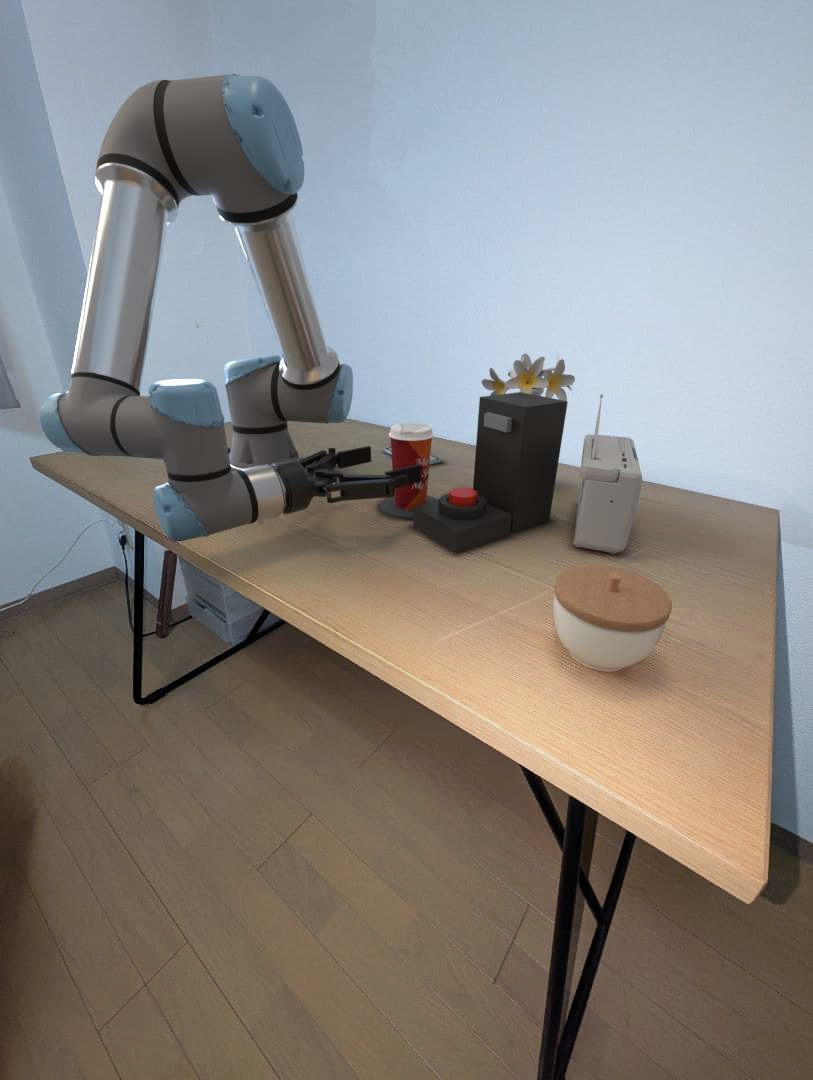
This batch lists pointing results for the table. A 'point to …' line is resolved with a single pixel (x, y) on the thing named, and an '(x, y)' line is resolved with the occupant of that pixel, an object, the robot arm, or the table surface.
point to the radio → (607, 492)
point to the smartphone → (432, 458)
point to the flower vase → (532, 378)
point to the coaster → (393, 511)
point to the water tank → (519, 455)
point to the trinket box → (608, 615)
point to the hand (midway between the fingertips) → (393, 462)
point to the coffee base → (461, 523)
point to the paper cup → (411, 460)
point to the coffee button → (463, 497)
